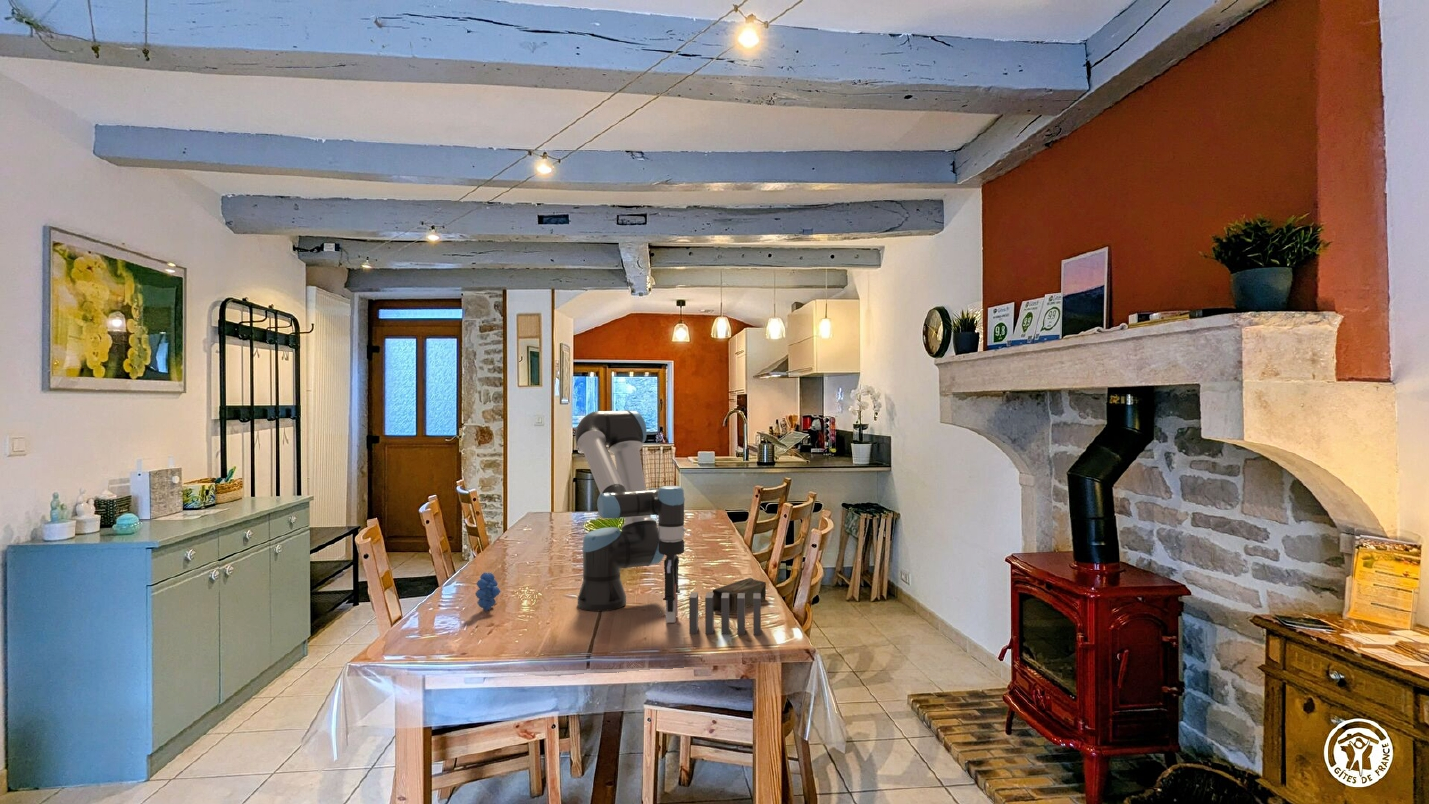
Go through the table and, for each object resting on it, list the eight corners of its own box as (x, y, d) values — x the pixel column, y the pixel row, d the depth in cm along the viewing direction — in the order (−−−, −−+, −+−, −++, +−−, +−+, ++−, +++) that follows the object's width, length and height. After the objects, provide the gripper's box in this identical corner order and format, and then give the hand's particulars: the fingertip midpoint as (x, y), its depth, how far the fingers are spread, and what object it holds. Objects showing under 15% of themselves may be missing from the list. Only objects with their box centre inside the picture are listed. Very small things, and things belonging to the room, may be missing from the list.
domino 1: (689, 633, 189) (689, 597, 189) (691, 627, 194) (691, 592, 194) (696, 633, 189) (696, 597, 189) (698, 627, 194) (698, 592, 194)
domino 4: (737, 634, 188) (737, 598, 188) (737, 628, 193) (737, 593, 193) (744, 634, 188) (744, 598, 188) (745, 628, 193) (744, 593, 193)
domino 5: (753, 634, 188) (753, 598, 188) (753, 628, 193) (753, 593, 193) (760, 635, 187) (760, 598, 187) (760, 628, 192) (760, 593, 192)
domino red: (667, 622, 198) (667, 588, 198) (669, 617, 203) (669, 583, 203) (674, 622, 198) (673, 588, 198) (676, 617, 203) (676, 583, 203)
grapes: (492, 617, 204) (492, 576, 204) (470, 616, 205) (470, 576, 205) (508, 605, 216) (508, 567, 216) (487, 604, 217) (487, 566, 217)
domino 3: (721, 634, 188) (721, 598, 188) (722, 628, 193) (722, 592, 193) (728, 634, 188) (728, 598, 188) (729, 628, 193) (729, 592, 193)
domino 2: (705, 634, 189) (705, 597, 188) (706, 627, 194) (706, 592, 193) (712, 634, 188) (712, 597, 188) (713, 628, 193) (713, 592, 193)
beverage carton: (767, 600, 221) (767, 579, 220) (731, 615, 205) (731, 593, 205) (747, 595, 225) (747, 575, 225) (710, 610, 210) (710, 588, 210)
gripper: (680, 546, 191) (681, 629, 192) (687, 533, 209) (687, 609, 209) (654, 545, 192) (654, 629, 192) (663, 533, 210) (663, 609, 210)
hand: (671, 618), depth 201 cm, fingers closed on domino red, 5 cm apart
